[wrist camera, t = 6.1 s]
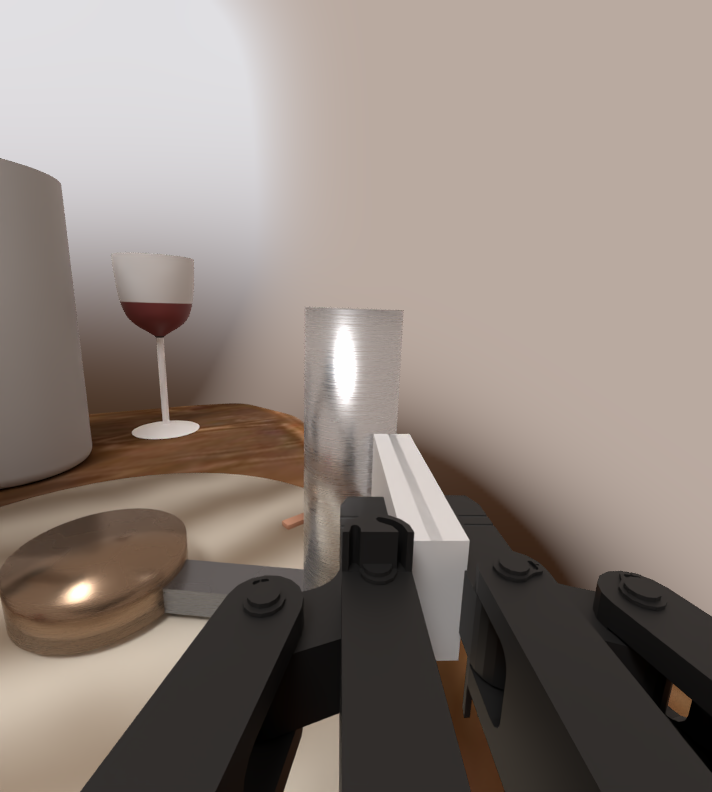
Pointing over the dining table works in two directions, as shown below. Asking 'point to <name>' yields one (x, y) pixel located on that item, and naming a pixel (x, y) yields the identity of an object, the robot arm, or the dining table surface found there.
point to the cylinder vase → (38, 334)
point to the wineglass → (156, 316)
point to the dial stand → (147, 648)
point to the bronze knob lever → (166, 534)
